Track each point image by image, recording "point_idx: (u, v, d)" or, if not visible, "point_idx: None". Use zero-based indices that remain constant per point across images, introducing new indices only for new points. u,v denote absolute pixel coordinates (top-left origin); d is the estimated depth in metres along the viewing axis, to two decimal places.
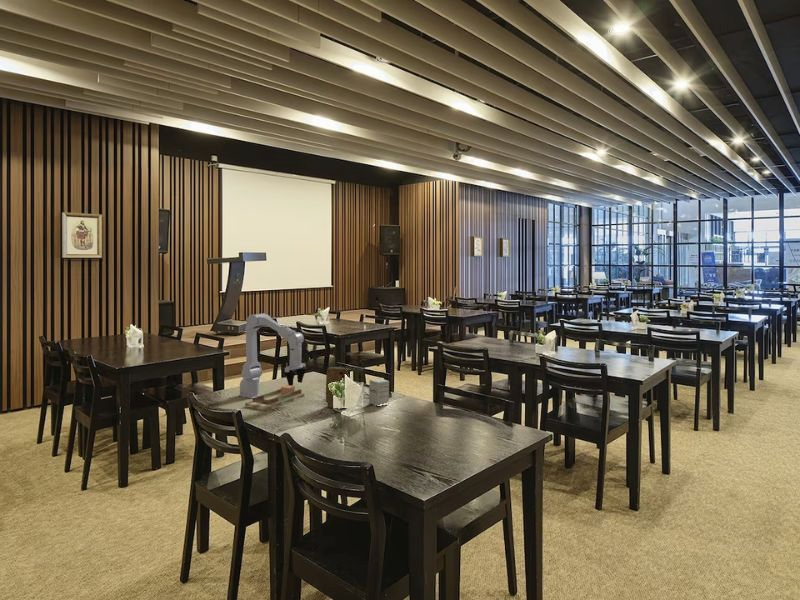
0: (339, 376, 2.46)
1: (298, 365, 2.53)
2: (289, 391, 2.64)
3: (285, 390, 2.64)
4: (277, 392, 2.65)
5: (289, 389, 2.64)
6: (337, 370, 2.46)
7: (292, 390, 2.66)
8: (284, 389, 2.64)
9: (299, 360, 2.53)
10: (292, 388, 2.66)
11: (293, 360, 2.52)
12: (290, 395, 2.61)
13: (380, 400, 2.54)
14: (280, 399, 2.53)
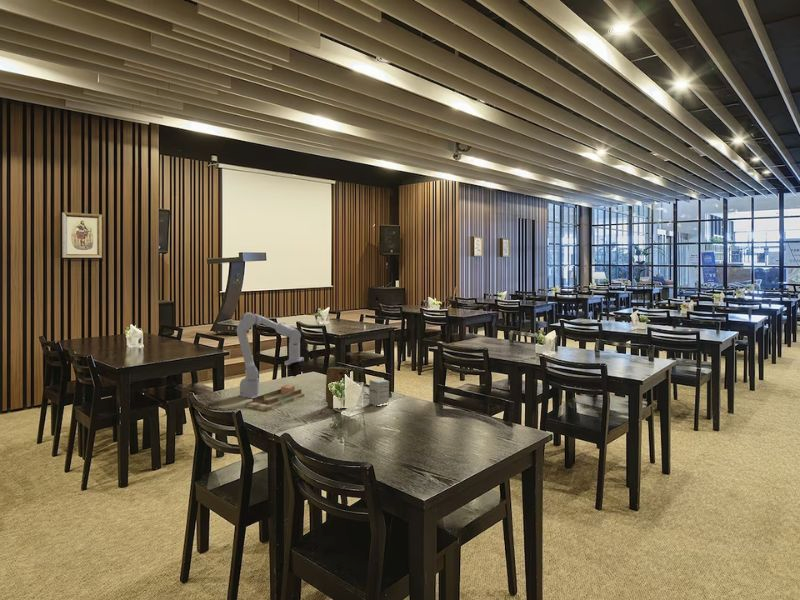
0: (339, 376, 2.46)
1: (297, 359, 2.73)
2: (289, 391, 2.64)
3: (285, 390, 2.64)
4: (277, 392, 2.65)
5: (289, 389, 2.64)
6: (337, 370, 2.46)
7: (292, 390, 2.66)
8: (284, 389, 2.64)
9: (298, 354, 2.73)
10: (292, 388, 2.66)
11: (292, 354, 2.72)
12: (290, 395, 2.61)
13: (380, 400, 2.54)
14: (280, 399, 2.53)
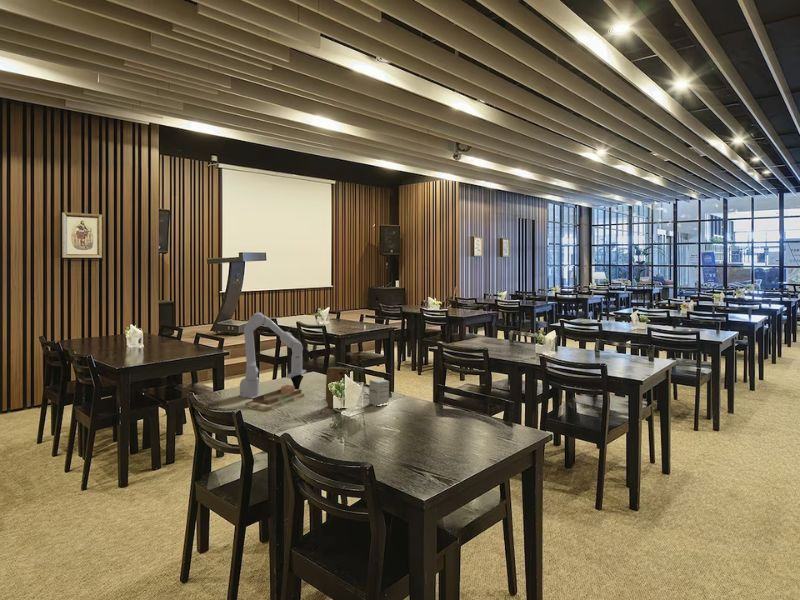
0: (339, 376, 2.46)
1: (299, 372, 2.71)
2: (289, 391, 2.64)
3: (285, 390, 2.64)
4: (277, 392, 2.65)
5: (289, 389, 2.64)
6: (337, 370, 2.46)
7: (292, 390, 2.66)
8: (284, 389, 2.64)
9: (300, 367, 2.71)
10: (292, 388, 2.66)
11: (294, 367, 2.70)
12: (290, 395, 2.61)
13: (380, 400, 2.54)
14: (280, 399, 2.53)
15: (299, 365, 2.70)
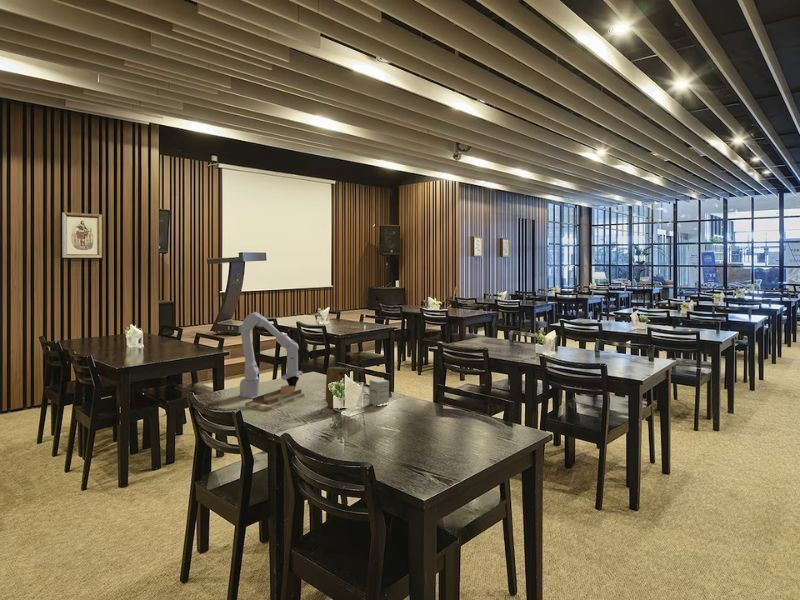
0: (339, 376, 2.46)
1: (295, 373, 2.67)
2: (289, 391, 2.64)
3: (285, 390, 2.64)
4: (277, 392, 2.65)
5: (289, 389, 2.63)
6: (337, 370, 2.46)
7: (292, 390, 2.66)
8: (284, 389, 2.64)
9: (296, 368, 2.68)
10: (292, 388, 2.66)
11: (290, 368, 2.66)
12: (290, 395, 2.61)
13: (380, 400, 2.54)
14: (280, 399, 2.53)
15: (295, 366, 2.67)
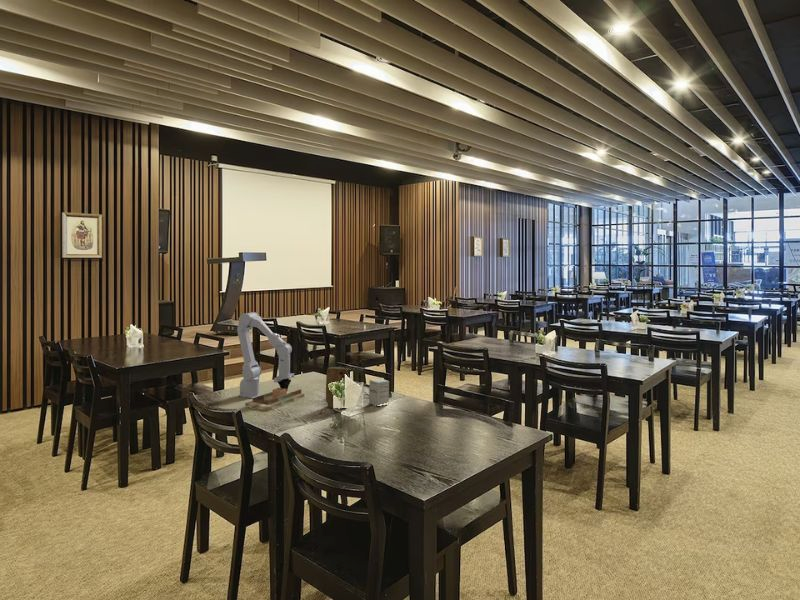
0: (339, 376, 2.46)
1: (287, 375, 2.61)
2: (281, 394, 2.57)
3: (277, 393, 2.58)
4: None
5: (281, 392, 2.57)
6: (337, 370, 2.46)
7: (284, 393, 2.60)
8: (276, 392, 2.58)
9: (288, 370, 2.61)
10: (284, 391, 2.60)
11: (282, 370, 2.60)
12: (290, 395, 2.61)
13: (380, 400, 2.54)
14: (280, 399, 2.53)
15: (286, 368, 2.61)
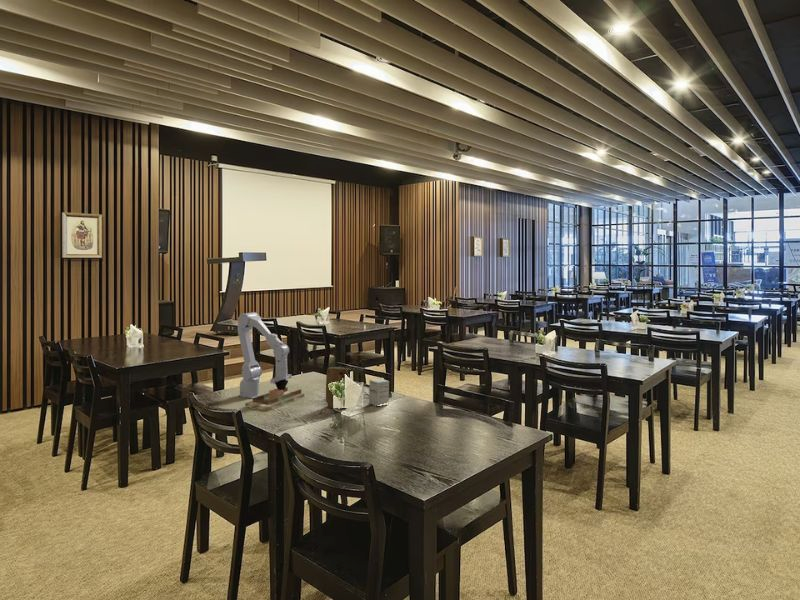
0: (339, 376, 2.46)
1: (284, 376, 2.59)
2: (278, 395, 2.55)
3: (273, 394, 2.55)
4: None
5: (278, 393, 2.55)
6: (337, 370, 2.46)
7: (281, 394, 2.57)
8: (272, 393, 2.56)
9: (285, 371, 2.59)
10: (281, 392, 2.57)
11: (279, 371, 2.58)
12: (290, 395, 2.61)
13: (380, 400, 2.54)
14: (280, 399, 2.53)
15: (283, 369, 2.59)
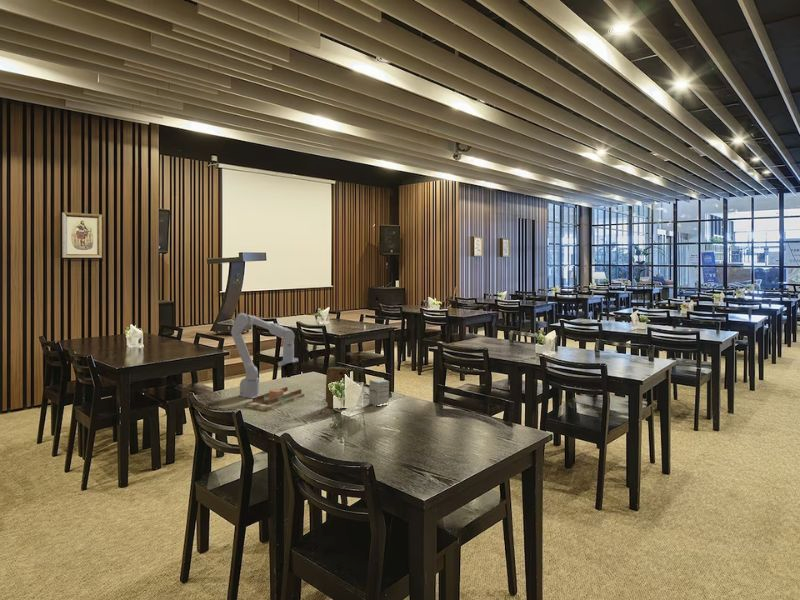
0: (339, 376, 2.46)
1: (291, 359, 2.70)
2: (278, 395, 2.55)
3: (273, 394, 2.55)
4: None
5: (278, 393, 2.55)
6: (337, 370, 2.46)
7: (281, 394, 2.57)
8: (272, 393, 2.56)
9: (292, 355, 2.71)
10: (281, 392, 2.57)
11: (286, 355, 2.69)
12: (290, 395, 2.61)
13: (380, 400, 2.54)
14: (280, 399, 2.53)
15: (290, 353, 2.70)
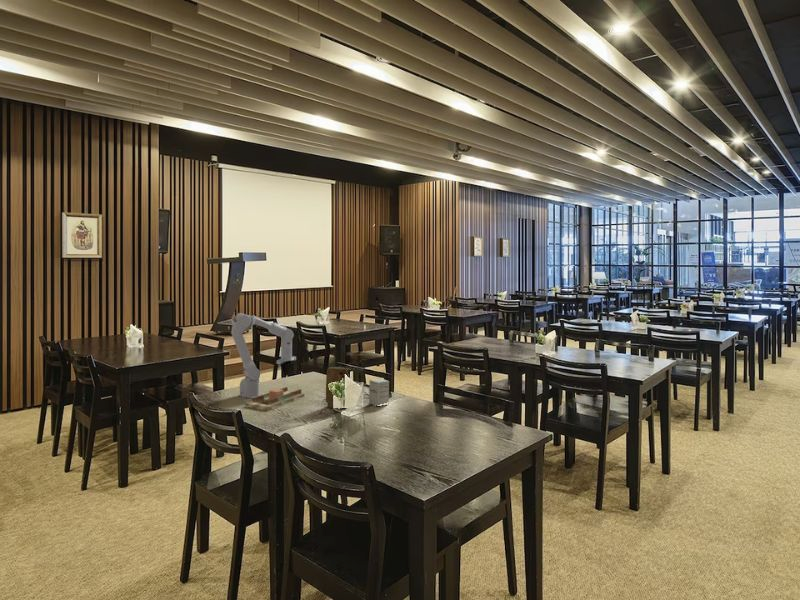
0: (339, 376, 2.46)
1: (289, 358, 2.75)
2: (278, 395, 2.55)
3: (273, 394, 2.55)
4: None
5: (278, 393, 2.55)
6: (337, 370, 2.46)
7: (281, 394, 2.57)
8: (272, 393, 2.56)
9: (290, 353, 2.75)
10: (281, 392, 2.57)
11: (284, 353, 2.74)
12: (290, 395, 2.61)
13: (380, 400, 2.54)
14: (280, 399, 2.53)
15: (289, 351, 2.75)
